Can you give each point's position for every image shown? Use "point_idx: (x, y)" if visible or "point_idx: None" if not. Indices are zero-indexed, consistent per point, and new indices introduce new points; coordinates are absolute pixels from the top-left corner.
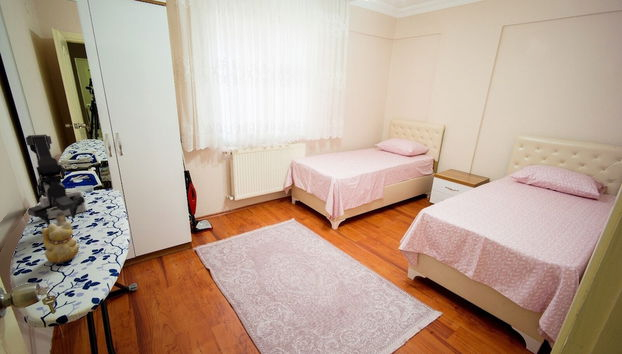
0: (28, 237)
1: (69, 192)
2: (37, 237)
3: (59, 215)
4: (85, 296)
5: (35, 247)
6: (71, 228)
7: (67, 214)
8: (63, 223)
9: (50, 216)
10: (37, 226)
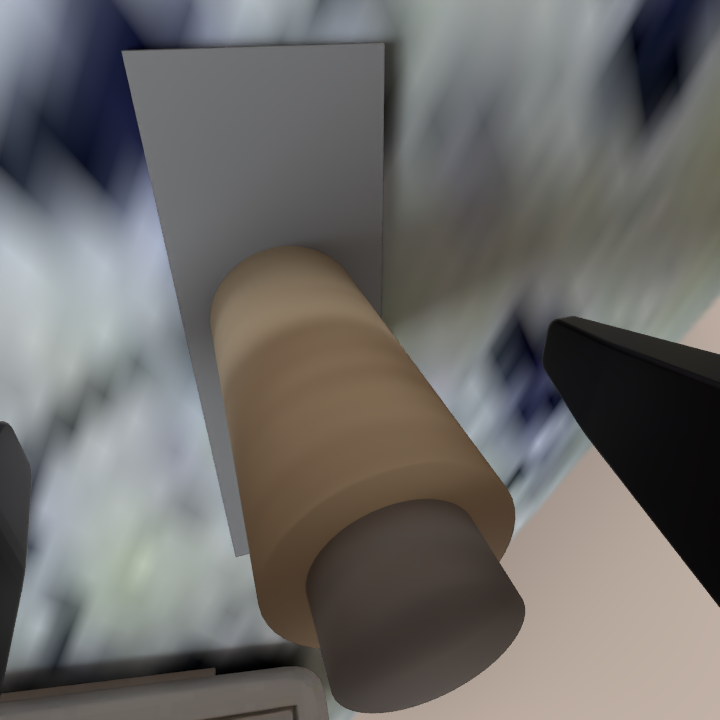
0: (681, 326)
1: None
2: (668, 232)
3: (463, 524)
4: None
5: None
6: (208, 55)
7: (47, 708)
8: (322, 297)
9: (273, 707)
10: None
